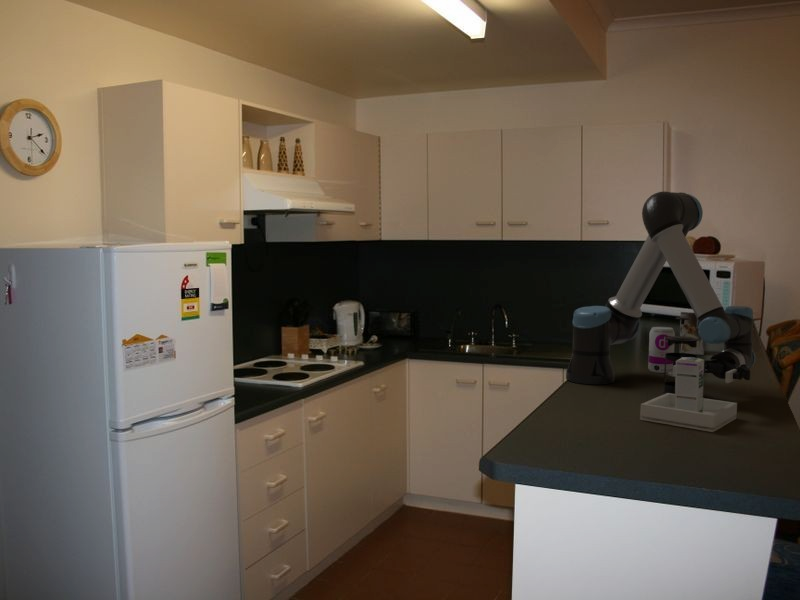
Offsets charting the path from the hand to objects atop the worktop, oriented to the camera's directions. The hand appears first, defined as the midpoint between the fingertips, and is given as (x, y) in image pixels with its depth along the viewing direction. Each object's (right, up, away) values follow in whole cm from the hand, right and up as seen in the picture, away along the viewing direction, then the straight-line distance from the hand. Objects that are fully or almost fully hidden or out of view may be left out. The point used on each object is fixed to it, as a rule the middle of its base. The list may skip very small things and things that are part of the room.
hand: (699, 374), depth 196 cm
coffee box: (+37, -2, +101) cm, 108 cm away
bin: (-5, -11, -5) cm, 13 cm away
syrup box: (-5, -10, -5) cm, 12 cm away
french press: (+4, -9, +24) cm, 26 cm away
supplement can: (+11, -5, +62) cm, 63 cm away
